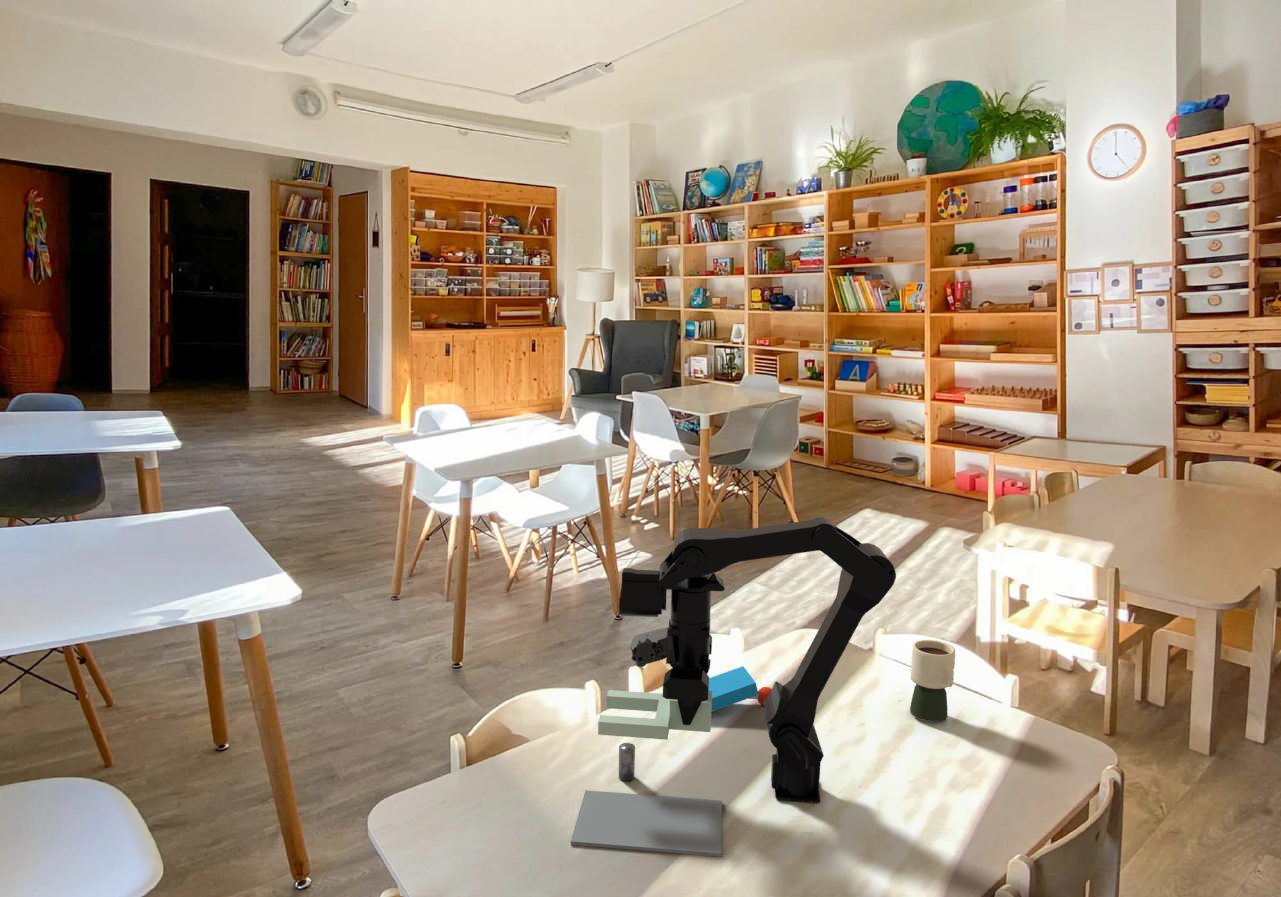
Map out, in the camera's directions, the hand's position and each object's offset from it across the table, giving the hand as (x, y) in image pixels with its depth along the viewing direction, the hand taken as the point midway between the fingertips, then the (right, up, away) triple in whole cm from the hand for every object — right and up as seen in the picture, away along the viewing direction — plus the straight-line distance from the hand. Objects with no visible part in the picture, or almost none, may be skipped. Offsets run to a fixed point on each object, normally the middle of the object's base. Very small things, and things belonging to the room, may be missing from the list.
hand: (687, 717), depth 126 cm
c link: (-4, -1, +1) cm, 5 cm away
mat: (-6, -12, -7) cm, 16 cm away
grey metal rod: (-9, -10, +4) cm, 14 cm away
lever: (+8, -7, +27) cm, 29 cm away
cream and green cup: (+44, -8, +24) cm, 51 cm away
